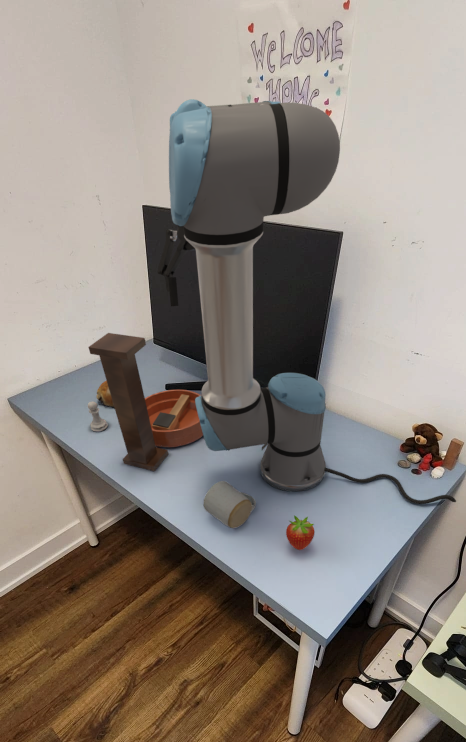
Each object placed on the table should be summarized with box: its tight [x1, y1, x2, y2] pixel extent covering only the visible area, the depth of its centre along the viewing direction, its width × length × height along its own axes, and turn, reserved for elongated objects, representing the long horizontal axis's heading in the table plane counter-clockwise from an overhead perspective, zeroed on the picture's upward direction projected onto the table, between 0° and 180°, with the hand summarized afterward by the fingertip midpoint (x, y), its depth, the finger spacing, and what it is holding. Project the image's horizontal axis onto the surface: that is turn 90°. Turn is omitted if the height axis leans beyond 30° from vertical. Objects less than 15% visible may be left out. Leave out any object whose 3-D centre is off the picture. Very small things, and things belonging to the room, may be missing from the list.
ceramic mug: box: [202, 480, 257, 529], centre depth 89 cm, size 11×8×8 cm
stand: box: [88, 332, 169, 472], centre depth 96 cm, size 9×7×30 cm
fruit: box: [285, 515, 316, 551], centre depth 82 cm, size 5×5×8 cm
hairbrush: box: [152, 394, 190, 430], centre depth 115 cm, size 5×15×4 cm, turn 158°
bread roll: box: [96, 379, 114, 408], centre depth 127 cm, size 10×10×8 cm
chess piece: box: [87, 401, 109, 432], centre depth 115 cm, size 5×5×8 cm
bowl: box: [145, 389, 204, 448], centre depth 115 cm, size 20×20×6 cm
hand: (198, 305), depth 105 cm, fingers open, 13 cm apart
